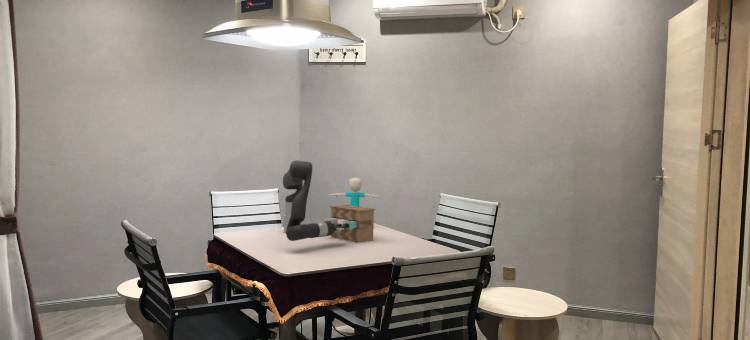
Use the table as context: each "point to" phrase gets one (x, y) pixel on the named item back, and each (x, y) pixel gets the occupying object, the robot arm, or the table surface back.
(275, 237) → the table surface
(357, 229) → the console
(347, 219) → the ivory key
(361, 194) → the toy
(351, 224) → the teal key
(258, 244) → the table surface
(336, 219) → the grey key
